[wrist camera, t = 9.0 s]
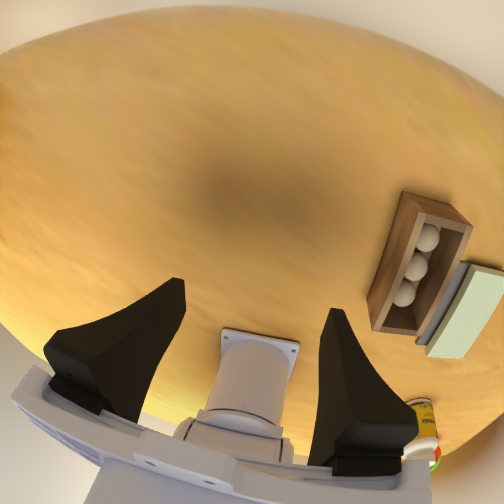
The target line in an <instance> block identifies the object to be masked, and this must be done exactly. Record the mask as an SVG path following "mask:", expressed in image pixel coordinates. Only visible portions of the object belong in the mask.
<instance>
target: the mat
mask: <svg viewBox="0 0 504 504" xmlns="http://www.w3.org/2000/svg"><path fill="white" fill-rule="evenodd" d="M471 264H472V263H468V262H463V261H460V262H459V264H458V266H457V269H456V271H455V273H454V275H453V277H452V280H451V282H450V284H449V286H448V288H447V290H446V292H445V294H444V296H443V298H442V300H441V302H440V304H439V305H438V307H437V309H436V311H435V313H434V315H433V316H432V318H431V320H430V322H429V324H428V325H427V327H426V329H425V330H424V332H423V334H422V336H421V337H418V338H417V340H416V341H415V343H416V345H424V346H427V345H428V344H429V342H430V340H431V339H432V337H433V336H434V334H435V332H436V331H437V329H438V327H439V326H440V324H441V322H442V321H443V319H444V317H445V315H446V314H447V312H448V310H449V308H450V306H451V305H452V303H453V301H454V299H455V297H456V295H457V293H458V291H459V289H460V287H461V285H462V283H463V281H464V279H465V277H466V275H467V273H468V271H469V268H470V266H471ZM472 265H476V264H472ZM476 266H480V265H476ZM480 267H485V266H480ZM485 268H489V267H485ZM489 269H493V268H489ZM493 270H497V269H493ZM497 271H501V270H497ZM501 272H504V271H501Z"/></svg>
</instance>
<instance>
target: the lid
mask: <svg viewBox="0 0 504 504" xmlns="http://www.w3.org/2000/svg"><path fill="white" fill-rule="evenodd" d="M503 294H504V272H501V271H497V270H493V269H489V268H485V267H480V266H476V265H472V264H471V266H470V268H469V271H468V273H467V275H466V277H465V279H464V281H463V283H462V285H461V287H460V289H459V291H458V293H457V295H456V297H455V299H454V301H453V303H452V305H451V306H450V308H449V310H448V312H447V314H446V315H445V317H444V319H443V321H442V322H441V324H440V326H439V327H438V329H437V331H436V332H435V334H434V336H433V337H432V339H431V340H430V342H429V344H428V345H427V347H426V348H425V352H426V356H427V357H443V358H463V356H464V355H465V354H466V352H467V351H468V349H469V348H470V347H471V345H472V344H473V342H474V341H475V339H476V338H477V336H478V335H479V333H480V332H481V330H482V329H483V327H484V326H485V324H486V323H487V321H488V319H489V318H490V316H491V315H492V313H493V311H494V309H495V308H496V306H497V304H498V303H499V301H500V299H501V297H502V295H503Z"/></svg>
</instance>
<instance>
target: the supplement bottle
mask: <svg viewBox="0 0 504 504" xmlns="http://www.w3.org/2000/svg"><path fill="white" fill-rule="evenodd" d="M406 404H407V405H409V406H410V407H411V408H412V409H413V410H415V411H416V415H417V418H418V425H419V433H418V435H417V436H416V437H415V438H414V439H413V440H412V441H411V442H410V443H409V444H407V445H406V446H405V447H404V455H403V456H401V457H402V458H404V459H407V460H406V461H408V460H417V459H429V464H430V467H432V466H433V465H434V464H435V463H436V460H435V454H434V453H433V451H434V450H435V449H436V448H437V446H438V436H437V430H436V424H435V418H434V412H433V407H432V403H431V401H430V400H428V399H423V398H421V399H415V400H411V401H409V402H407V403H406Z"/></svg>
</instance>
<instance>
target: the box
mask: <svg viewBox="0 0 504 504" xmlns="http://www.w3.org/2000/svg"><path fill="white" fill-rule="evenodd" d="M472 230H473V226H472V225H471V224H470V223H469V222H468V221H467V220H466V219H465V218H464V217H463V216H462V215H461V214H460V213H459V212H458V211H457V210H456V209H455V208H454V207H453V206H452V205H449V204H446V203H442V202H439V201H435V200H432V199H428V198H425V197H421V196H417V195H413V194H410V193H406V192H401V196H400V200H399V203H398V207H397V211H396V214H395V217H394V221H393V224H392V228H391V231H390V234H389V237H388V240H387V243H386V246H385V249H384V252H383V255H382V258H381V261H380V264H379V267H378V270H377V273H376V275H375V278H374V281H373V283H372V286H371V289H370V291H369V294H368V296H367V299H366V300H367V305H368V311H369V317H370V323H371V329H372V331H376V332H384V333H392V334H401V335H410V336H419V337H421V336H422V334H423V332H424V330H425V329H426V327H427V325H428V324H429V322H430V320H431V318H432V316H433V315H434V313H435V311H436V309H437V307H438V305H439V304H440V302H441V300H442V298H443V296H444V294H445V292H446V290H447V288H448V286H449V284H450V282H451V280H452V277H453V275H454V273H455V271H456V269H457V266H458V264H459V262H460V260H461V257H462V255H463V253H464V250H465V248H466V245H467V243H468V240H469V238H470V235H471V232H472Z"/></svg>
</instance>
